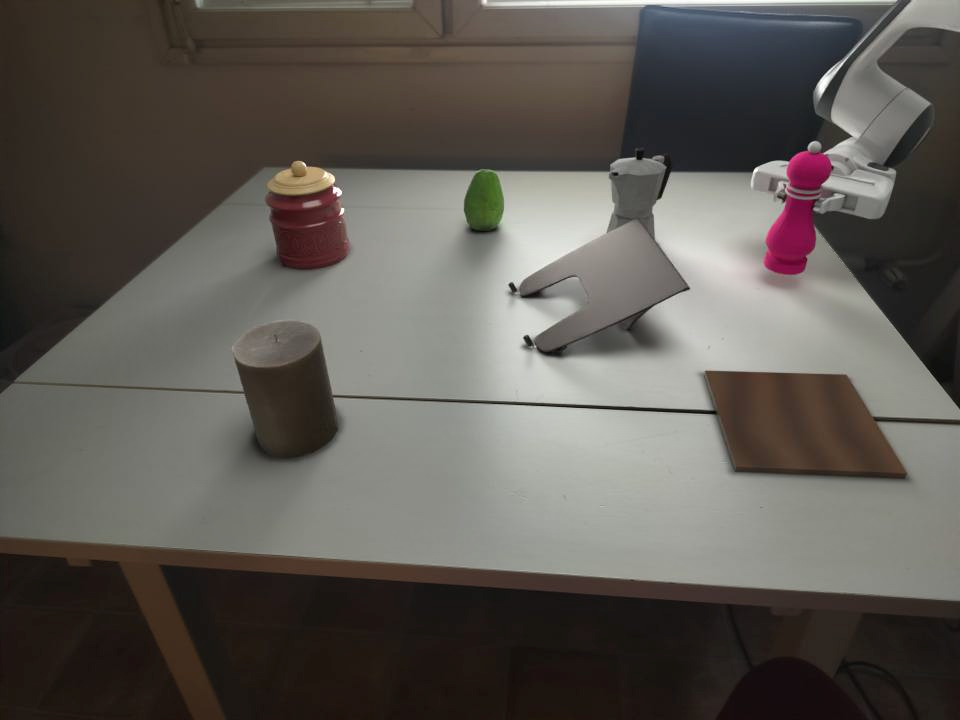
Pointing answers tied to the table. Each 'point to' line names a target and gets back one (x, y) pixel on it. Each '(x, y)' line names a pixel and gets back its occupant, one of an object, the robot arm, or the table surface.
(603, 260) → the laptop tray
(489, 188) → the avocado
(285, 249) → the kitchen canister
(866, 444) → the walnut board
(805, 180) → the pepper mill
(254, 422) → the pillar candle
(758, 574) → the table surface
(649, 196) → the coffeepot
